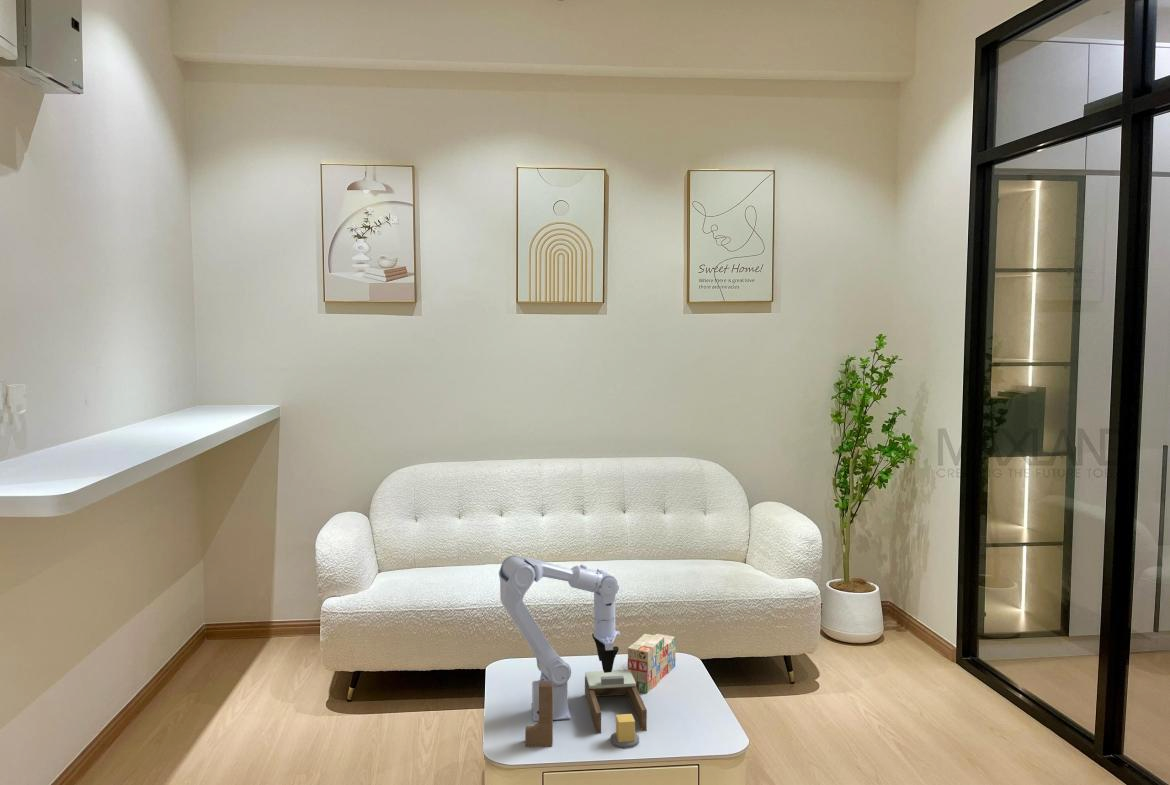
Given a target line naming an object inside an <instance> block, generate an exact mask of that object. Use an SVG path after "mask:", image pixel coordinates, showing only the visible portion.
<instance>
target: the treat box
mask: <svg viewBox="0 0 1170 785" xmlns="http://www.w3.org/2000/svg"><path fill="white" fill-rule="evenodd" d="M621 695H623V696H624V695H626V696H627V698H628V700H629V703H630V705H631V707H632V708H631V709H632V711H633V712H634V715H635V718H636V720H637V722H638V725H639V727H640V729H641V731H642V732H644V730H645V731H647V725H648V724H647V723H648V722H647V721H648V720H647V719H648V718H647V717H648V715H647V714H648V712H647V711H648V710H647V707H646V705H645V703H644V701H643V699H642V696H641V694H640V692H639V691H638V690H637V687H636V686H630V687H612V688H594V689H590V688H589V685H588V682H587V679H586V676H584V698H585V700H586V702H587V707H588V711H589V714H590V717H591V720H592V724H593V727H594V731H595V733H596V734H602V711H601V708H600V704H599V702H598V699H597V698H598V697H605V696H621Z"/></svg>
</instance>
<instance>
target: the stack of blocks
mask: <svg viewBox="0 0 1170 785" xmlns="http://www.w3.org/2000/svg"><path fill="white" fill-rule="evenodd" d="M675 667H676V636H673V635H669V634H668V635H667V634H661V633H656V634H649V633H644V634H642V636H641V637H640V638H638V639H637V640H636V641H635V642H634V643H632V644H630V645H629V647H627V670H630V671H631V673H632V675H633V678H634V680H635V682H636V687H637V690H638V692H639V691H640V692H639V693H643V692H644V693H643V694H648V693H650V692H651V691H652V690H653V689H654V688H655V687H656V686H657V685H658V684H659V683H660V682H661V681H662V680H663V679H664V678H665V677H666V676H665V675H666V674H667V675H668V674H669V673H670V672H671V671H672V670H673V669H674V668H675ZM664 676H665V677H664ZM663 677H664V678H663ZM662 678H663V679H662ZM661 679H662V680H661ZM660 680H661V681H660ZM651 689H652V690H651ZM650 690H651V691H650ZM649 691H650V692H649Z"/></svg>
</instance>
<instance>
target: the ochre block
mask: <svg viewBox="0 0 1170 785" xmlns="http://www.w3.org/2000/svg"><path fill="white" fill-rule="evenodd" d="M615 732H616V736H617V739H618V742H631V741H635V733H636V720H635V718H634V716H633V714H632V713H624V714H623V713H622V714H615Z"/></svg>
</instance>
